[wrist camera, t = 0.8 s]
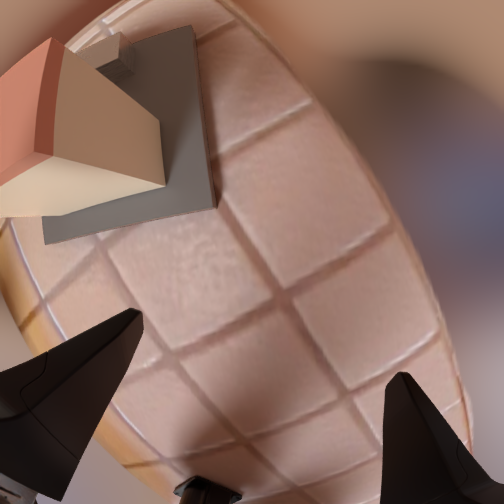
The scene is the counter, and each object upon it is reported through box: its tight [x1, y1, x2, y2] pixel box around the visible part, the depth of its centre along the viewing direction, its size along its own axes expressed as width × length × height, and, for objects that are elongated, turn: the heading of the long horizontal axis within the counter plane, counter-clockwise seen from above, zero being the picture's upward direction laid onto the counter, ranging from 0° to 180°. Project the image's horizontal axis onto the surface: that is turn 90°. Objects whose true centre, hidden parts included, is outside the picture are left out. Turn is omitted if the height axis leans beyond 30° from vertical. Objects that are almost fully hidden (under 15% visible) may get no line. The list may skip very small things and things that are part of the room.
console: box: [42, 25, 217, 245], centre depth 19 cm, size 16×16×2 cm
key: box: [0, 37, 166, 218], centre depth 12 cm, size 5×10×12 cm, turn 99°
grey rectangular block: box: [76, 32, 136, 83], centre depth 16 cm, size 3×6×3 cm, turn 99°
